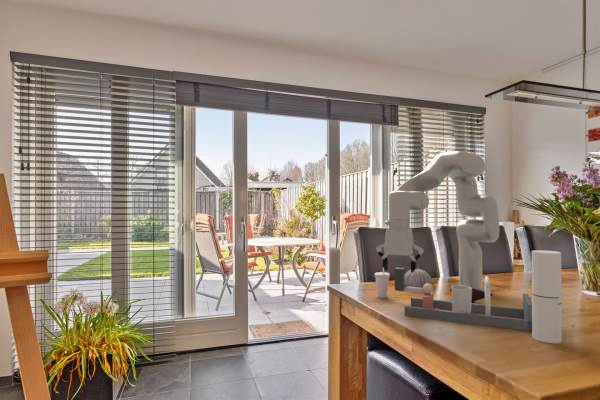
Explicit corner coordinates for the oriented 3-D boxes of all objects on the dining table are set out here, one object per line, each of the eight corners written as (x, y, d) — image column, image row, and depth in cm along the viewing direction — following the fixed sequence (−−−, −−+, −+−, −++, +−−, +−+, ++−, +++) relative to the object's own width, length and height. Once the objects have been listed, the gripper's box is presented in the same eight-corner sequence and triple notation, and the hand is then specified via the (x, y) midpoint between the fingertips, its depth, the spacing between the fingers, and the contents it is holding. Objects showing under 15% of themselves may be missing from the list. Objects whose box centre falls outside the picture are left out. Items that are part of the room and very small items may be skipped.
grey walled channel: (411, 304, 144) (411, 270, 144) (528, 317, 128) (527, 278, 128) (404, 315, 131) (404, 277, 131) (534, 331, 114) (533, 288, 114)
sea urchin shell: (398, 287, 175) (398, 269, 176) (407, 281, 187) (406, 265, 187) (428, 290, 168) (428, 272, 169) (434, 284, 180) (434, 267, 180)
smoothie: (390, 299, 153) (390, 264, 153) (374, 298, 154) (374, 264, 154) (389, 295, 159) (389, 262, 159) (374, 294, 161) (374, 261, 161)
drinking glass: (470, 320, 125) (470, 290, 125) (449, 317, 129) (449, 287, 129) (473, 315, 131) (473, 286, 131) (453, 312, 134) (453, 284, 135)
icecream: (490, 285, 149) (449, 286, 153) (492, 284, 142) (449, 285, 147) (492, 304, 147) (451, 304, 151) (495, 304, 140) (451, 304, 145)
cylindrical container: (526, 334, 112) (526, 250, 112) (549, 334, 112) (548, 250, 112) (544, 343, 104) (543, 253, 105) (568, 342, 105) (567, 253, 105)
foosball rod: (398, 304, 144) (397, 266, 144) (434, 308, 138) (434, 268, 138) (393, 310, 135) (393, 269, 136) (432, 314, 130) (431, 272, 130)
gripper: (373, 224, 139) (373, 270, 139) (422, 225, 132) (422, 274, 132) (378, 223, 146) (378, 267, 146) (425, 224, 139) (424, 271, 138)
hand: (399, 270), depth 139 cm, fingers open, 9 cm apart
